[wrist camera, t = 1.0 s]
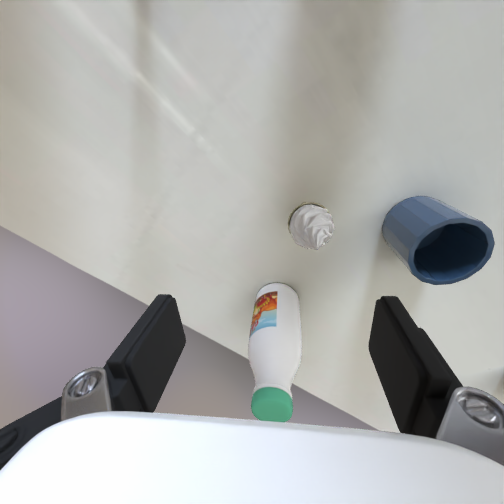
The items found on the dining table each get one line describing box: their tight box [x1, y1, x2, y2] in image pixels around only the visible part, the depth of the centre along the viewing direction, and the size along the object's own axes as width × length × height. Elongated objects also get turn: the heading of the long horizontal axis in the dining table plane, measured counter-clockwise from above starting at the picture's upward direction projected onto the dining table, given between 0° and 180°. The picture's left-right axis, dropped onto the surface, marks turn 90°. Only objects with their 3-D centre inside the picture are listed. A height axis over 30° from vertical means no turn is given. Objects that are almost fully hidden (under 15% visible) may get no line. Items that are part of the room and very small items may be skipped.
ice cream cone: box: [288, 202, 335, 250], centre depth 30 cm, size 5×5×15 cm
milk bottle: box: [248, 283, 302, 422], centre depth 36 cm, size 8×8×20 cm
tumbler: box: [382, 196, 495, 285], centre depth 32 cm, size 8×8×9 cm
